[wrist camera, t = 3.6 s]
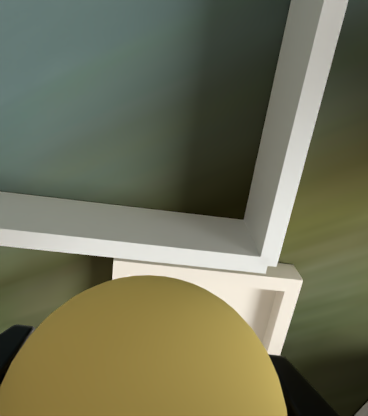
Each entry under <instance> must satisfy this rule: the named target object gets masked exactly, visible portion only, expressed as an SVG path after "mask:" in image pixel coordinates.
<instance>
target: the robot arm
mask: <svg viewBox="0 0 368 416" xmlns="http://www.w3.org/2000/svg"><path fill="white" fill-rule="evenodd" d="M34 331H35V328H34V327H33V326H26V325H14V326H12V327H10V328H9V329H7V330H6V331H4V332H3V333H1V334H0V386H1V384H2V381H3V379H4V377H5V375H6V373H7V371H8V369H9V367H10V365H11V362H12V361H13V359H14V358H15V356H16V355H17V353H18V352H19V350H20V349H21V348H22V346H23V345H24V343H25V342H26V340H27V339H28V338H29V336H30V335H31V334H32V333H33V332H34ZM268 355H269V357H270V359H271V361H272V363H273V366H274V368H275V371H276V373H277V375H278V378H279V381H280V385H281V389H282V393H283V397H284V400H285V404H286V408H287V416H340V415H339V414H338V413H337V412H336V411H335V410H334V409H333V408H332V406H331V405H330V404H329V403H328V402H327V401H326V400H325V399H324V398H323V397H322V396H321V395H320V394H319V393H318V392H317V391H316V389H315V388H314V387H313V386H312V385H311V384H310V383H309V382H308V381H307V380H306V379H305V378H304V377H303V376H302V375H301V374H300V373H299V371H298V370H297V369H296V368H295V367H294V366H293V365H292V364H291V363H290V362H289V361H288V360H287V359H286V358H285V357H284V356H280V355H271V354H268Z"/></svg>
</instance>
